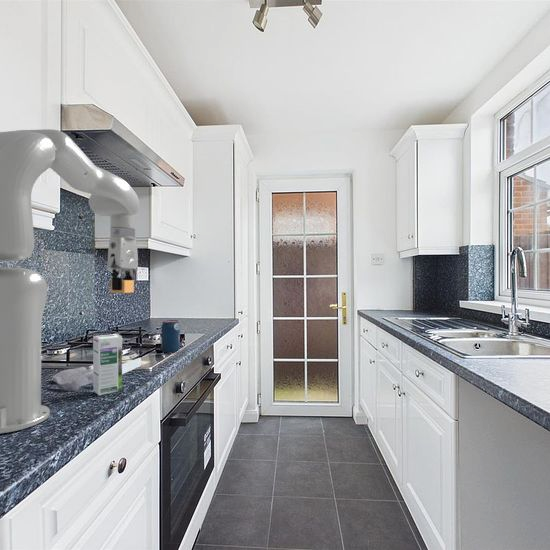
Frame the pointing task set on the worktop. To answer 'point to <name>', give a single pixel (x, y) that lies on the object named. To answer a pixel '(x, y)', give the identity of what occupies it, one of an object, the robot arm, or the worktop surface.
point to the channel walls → (128, 365)
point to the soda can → (170, 336)
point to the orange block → (125, 287)
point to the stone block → (74, 379)
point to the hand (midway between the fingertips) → (122, 289)
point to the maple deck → (141, 362)
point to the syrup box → (107, 363)
